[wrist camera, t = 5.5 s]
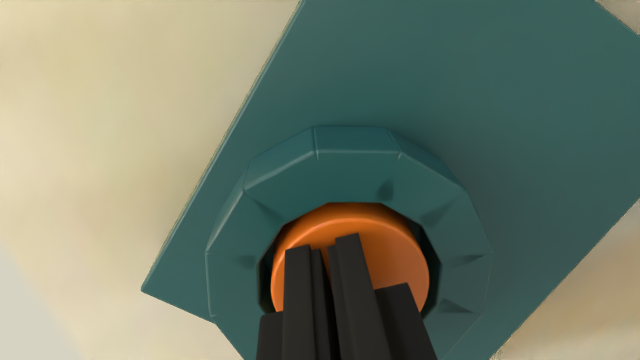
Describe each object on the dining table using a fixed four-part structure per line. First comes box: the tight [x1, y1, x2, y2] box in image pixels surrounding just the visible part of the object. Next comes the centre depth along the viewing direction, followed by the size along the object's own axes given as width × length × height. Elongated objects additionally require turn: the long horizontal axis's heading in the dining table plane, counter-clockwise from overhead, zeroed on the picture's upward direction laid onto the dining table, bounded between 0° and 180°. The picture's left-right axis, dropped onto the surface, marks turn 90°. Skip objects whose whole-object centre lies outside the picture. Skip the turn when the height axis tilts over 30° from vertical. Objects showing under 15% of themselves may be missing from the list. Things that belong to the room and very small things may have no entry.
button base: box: [141, 0, 640, 360], centre depth 12 cm, size 12×10×4 cm
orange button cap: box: [271, 202, 429, 312], centre depth 11 cm, size 4×4×2 cm
